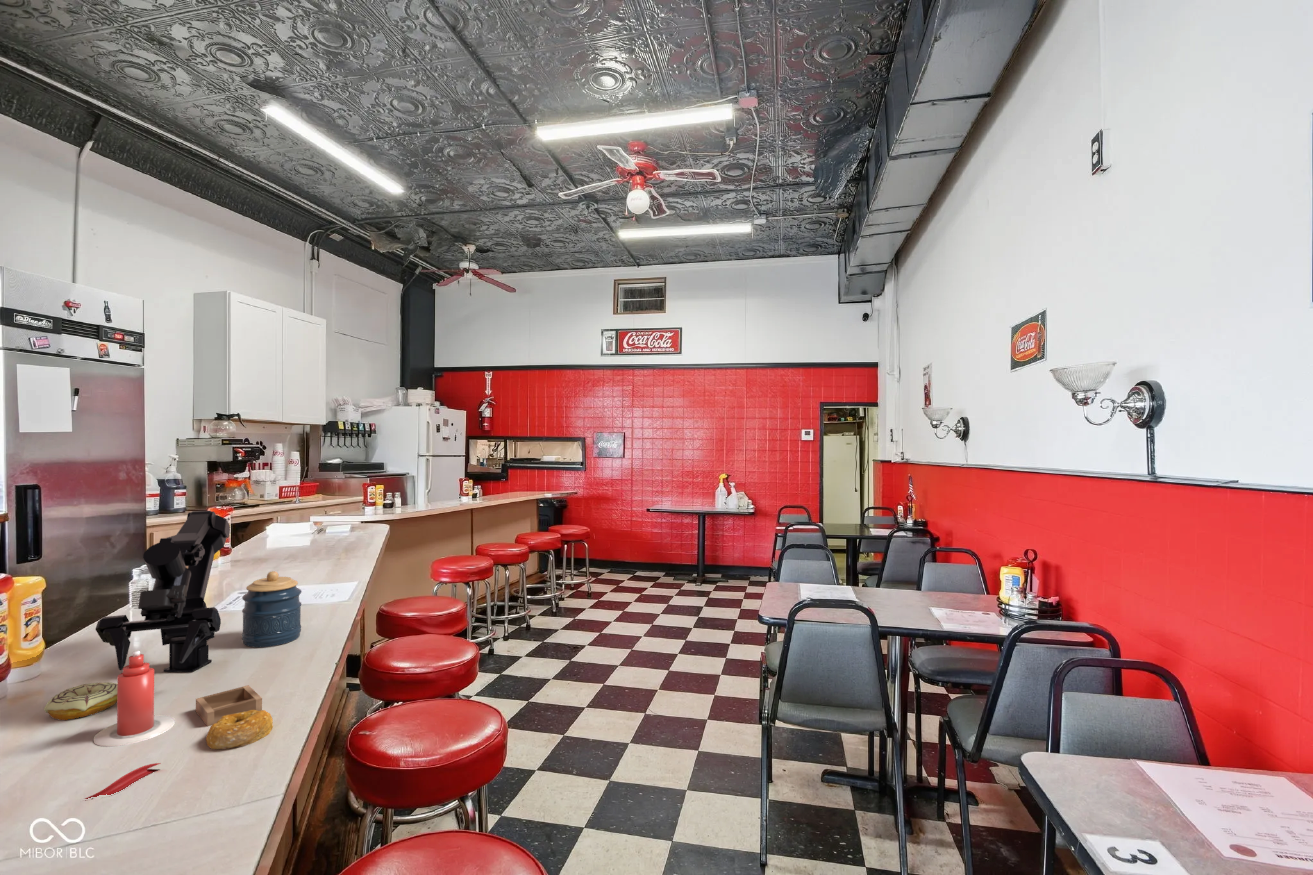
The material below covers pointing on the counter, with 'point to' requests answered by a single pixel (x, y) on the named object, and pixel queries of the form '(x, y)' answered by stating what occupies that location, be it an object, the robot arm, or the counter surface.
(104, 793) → the cayenne pepper
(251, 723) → the bagel
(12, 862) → the counter surface
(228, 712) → the tray
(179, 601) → the robot arm
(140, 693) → the ketchup bottle
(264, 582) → the canister
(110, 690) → the decorated donut
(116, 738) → the saucer
